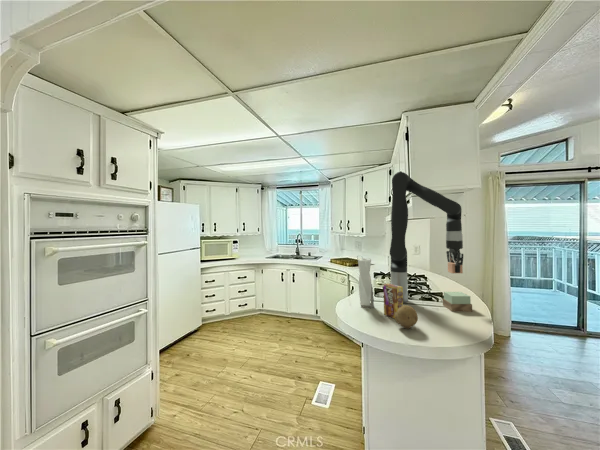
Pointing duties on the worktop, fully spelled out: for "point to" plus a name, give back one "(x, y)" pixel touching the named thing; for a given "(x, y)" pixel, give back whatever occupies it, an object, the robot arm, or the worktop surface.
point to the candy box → (392, 299)
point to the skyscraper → (365, 283)
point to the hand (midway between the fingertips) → (455, 271)
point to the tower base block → (457, 306)
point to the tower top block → (457, 298)
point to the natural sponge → (406, 316)
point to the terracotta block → (453, 267)
